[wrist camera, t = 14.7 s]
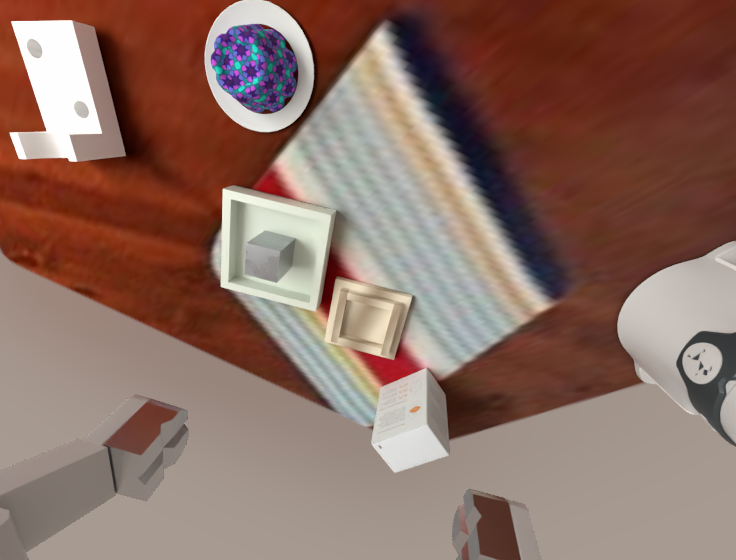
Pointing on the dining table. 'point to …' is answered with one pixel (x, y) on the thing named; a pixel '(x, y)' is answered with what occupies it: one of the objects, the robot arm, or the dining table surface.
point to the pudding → (258, 65)
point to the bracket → (67, 93)
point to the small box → (411, 422)
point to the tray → (282, 216)
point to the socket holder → (366, 317)
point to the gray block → (269, 256)
